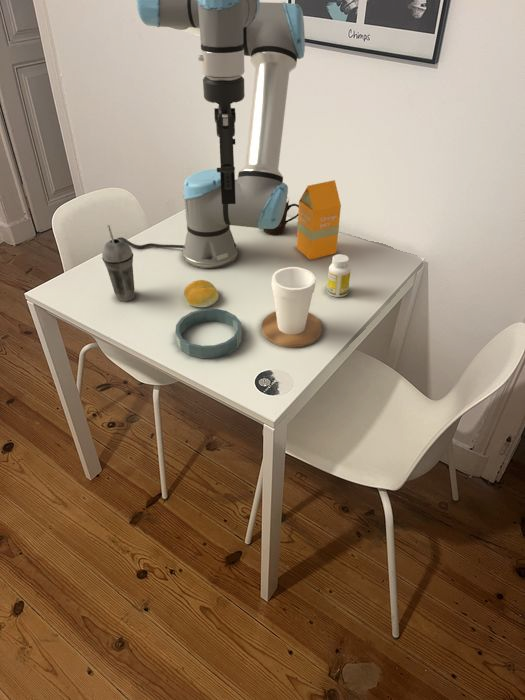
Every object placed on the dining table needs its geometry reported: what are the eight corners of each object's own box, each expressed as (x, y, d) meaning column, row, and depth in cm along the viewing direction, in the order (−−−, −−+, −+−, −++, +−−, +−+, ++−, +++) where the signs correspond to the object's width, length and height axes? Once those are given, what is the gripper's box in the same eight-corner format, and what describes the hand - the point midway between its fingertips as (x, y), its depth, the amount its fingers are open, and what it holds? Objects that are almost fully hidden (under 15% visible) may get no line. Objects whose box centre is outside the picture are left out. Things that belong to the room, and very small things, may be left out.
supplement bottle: (348, 287, 137) (352, 253, 131) (347, 298, 133) (351, 264, 127) (327, 285, 138) (330, 251, 131) (325, 296, 133) (329, 262, 127)
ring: (163, 339, 120) (162, 329, 118) (209, 311, 128) (208, 301, 126) (208, 367, 112) (208, 356, 110) (254, 336, 121) (254, 325, 119)
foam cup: (308, 341, 118) (312, 292, 110) (267, 336, 119) (268, 287, 111) (314, 317, 125) (317, 269, 117) (275, 312, 127) (276, 264, 118)
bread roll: (190, 311, 128) (189, 298, 126) (182, 292, 135) (180, 279, 132) (223, 305, 130) (222, 291, 128) (213, 286, 137) (212, 273, 134)
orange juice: (296, 248, 153) (299, 180, 140) (322, 241, 156) (327, 175, 144) (310, 260, 148) (314, 191, 135) (336, 253, 151) (343, 185, 138)
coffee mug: (254, 232, 161) (254, 201, 154) (269, 221, 166) (269, 191, 160) (287, 241, 156) (288, 210, 150) (301, 230, 162) (303, 199, 155)
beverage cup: (145, 291, 135) (133, 218, 122) (131, 307, 130) (116, 232, 117) (120, 286, 137) (106, 214, 124) (105, 301, 132) (88, 227, 119)
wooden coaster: (249, 330, 122) (249, 327, 122) (287, 304, 131) (287, 302, 130) (296, 356, 115) (296, 353, 115) (333, 327, 124) (334, 324, 123)
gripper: (203, 61, 105) (210, 167, 118) (201, 93, 86) (209, 216, 99) (241, 61, 105) (243, 167, 119) (247, 93, 86) (249, 215, 99)
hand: (228, 189), depth 109 cm, fingers open, 13 cm apart
